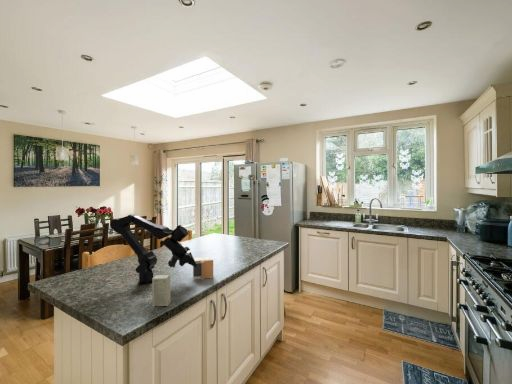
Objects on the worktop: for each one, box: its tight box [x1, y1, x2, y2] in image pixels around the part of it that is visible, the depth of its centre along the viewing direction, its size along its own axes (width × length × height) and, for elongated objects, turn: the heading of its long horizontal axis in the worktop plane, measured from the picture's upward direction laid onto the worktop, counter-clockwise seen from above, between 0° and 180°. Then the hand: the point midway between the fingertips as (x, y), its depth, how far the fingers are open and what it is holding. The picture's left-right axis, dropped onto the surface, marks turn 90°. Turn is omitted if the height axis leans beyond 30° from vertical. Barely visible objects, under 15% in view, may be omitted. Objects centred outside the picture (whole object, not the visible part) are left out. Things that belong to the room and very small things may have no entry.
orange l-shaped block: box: [200, 259, 214, 281], centre depth 133 cm, size 6×4×10 cm, turn 106°
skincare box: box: [151, 274, 171, 308], centre depth 104 cm, size 6×4×12 cm
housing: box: [192, 256, 211, 280], centre depth 137 cm, size 10×6×10 cm, turn 106°
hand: (196, 266), depth 131 cm, fingers closed
